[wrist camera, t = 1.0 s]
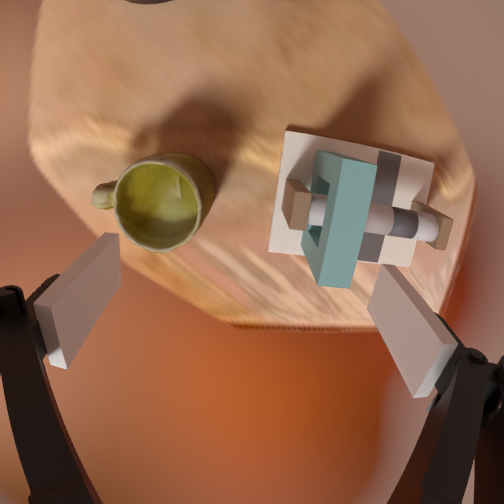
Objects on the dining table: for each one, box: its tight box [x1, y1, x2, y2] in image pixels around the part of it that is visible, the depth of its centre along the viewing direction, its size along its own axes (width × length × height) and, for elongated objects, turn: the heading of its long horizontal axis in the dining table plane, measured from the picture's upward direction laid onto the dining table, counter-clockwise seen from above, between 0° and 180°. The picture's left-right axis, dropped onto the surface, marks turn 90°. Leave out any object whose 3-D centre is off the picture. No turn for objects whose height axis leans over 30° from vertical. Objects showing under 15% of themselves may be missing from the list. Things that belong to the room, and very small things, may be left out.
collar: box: [301, 150, 377, 288], centre depth 30 cm, size 3×11×10 cm, turn 173°
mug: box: [92, 153, 215, 253], centre depth 32 cm, size 12×10×10 cm
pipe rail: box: [268, 131, 453, 267], centre depth 33 cm, size 19×14×8 cm
